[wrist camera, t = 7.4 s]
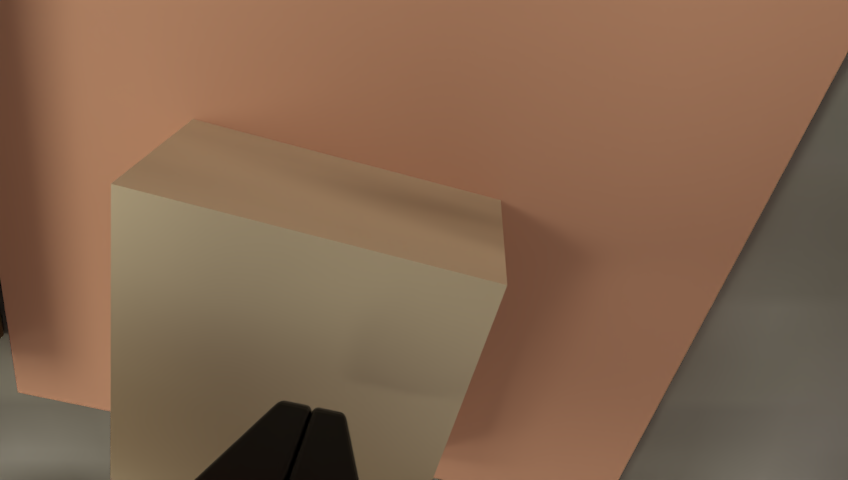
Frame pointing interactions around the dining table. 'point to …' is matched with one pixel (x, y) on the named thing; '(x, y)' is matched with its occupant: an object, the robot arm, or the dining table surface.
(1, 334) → the walnut board
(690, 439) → the dining table surface
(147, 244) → the maple tile
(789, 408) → the dining table surface
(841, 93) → the dining table surface
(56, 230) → the terracotta mat
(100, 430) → the dining table surface
